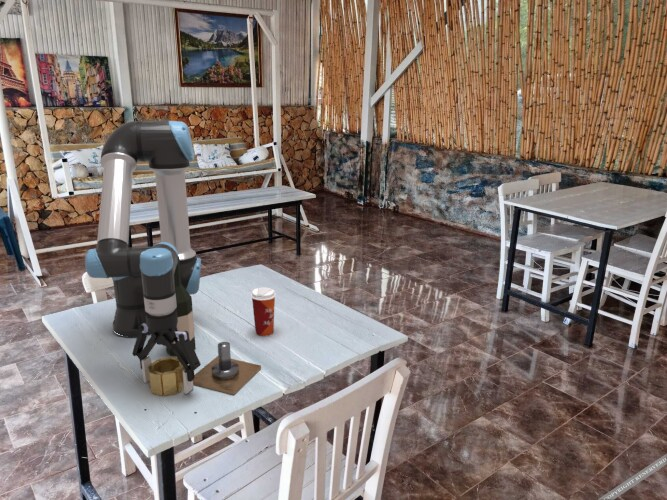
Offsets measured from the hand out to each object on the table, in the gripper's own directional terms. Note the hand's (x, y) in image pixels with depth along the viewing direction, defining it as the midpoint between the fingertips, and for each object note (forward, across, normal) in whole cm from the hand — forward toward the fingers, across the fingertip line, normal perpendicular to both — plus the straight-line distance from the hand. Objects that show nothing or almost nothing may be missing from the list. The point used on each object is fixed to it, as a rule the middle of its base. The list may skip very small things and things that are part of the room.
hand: (168, 385), depth 137 cm
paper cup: (0, +8, +37) cm, 38 cm away
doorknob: (0, +11, +10) cm, 15 cm away
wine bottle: (0, -9, +17) cm, 19 cm away
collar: (0, 0, 0) cm, 0 cm away
